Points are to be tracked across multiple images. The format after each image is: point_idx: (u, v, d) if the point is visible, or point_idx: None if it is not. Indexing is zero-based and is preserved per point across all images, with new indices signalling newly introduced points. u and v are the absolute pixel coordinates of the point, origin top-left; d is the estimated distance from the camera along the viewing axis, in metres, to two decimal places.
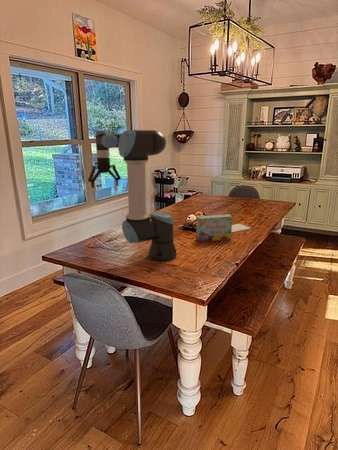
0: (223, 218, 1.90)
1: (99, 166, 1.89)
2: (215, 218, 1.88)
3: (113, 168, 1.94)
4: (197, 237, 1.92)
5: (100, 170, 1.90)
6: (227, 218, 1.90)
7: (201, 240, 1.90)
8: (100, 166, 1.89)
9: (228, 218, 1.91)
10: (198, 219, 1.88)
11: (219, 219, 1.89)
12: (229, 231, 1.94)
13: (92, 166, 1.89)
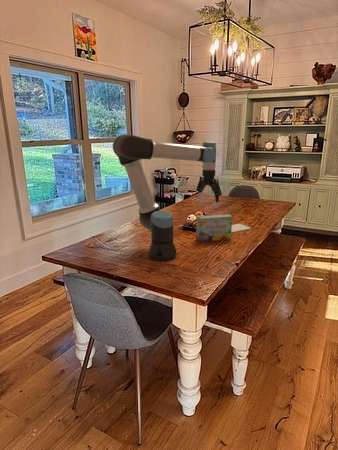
0: (223, 218, 1.90)
1: (203, 177, 1.87)
2: (215, 218, 1.88)
3: None
4: (197, 237, 1.92)
5: (203, 182, 1.87)
6: (227, 218, 1.90)
7: (201, 240, 1.90)
8: (204, 178, 1.86)
9: (228, 218, 1.91)
10: (198, 219, 1.88)
11: (219, 219, 1.89)
12: (229, 231, 1.94)
13: None
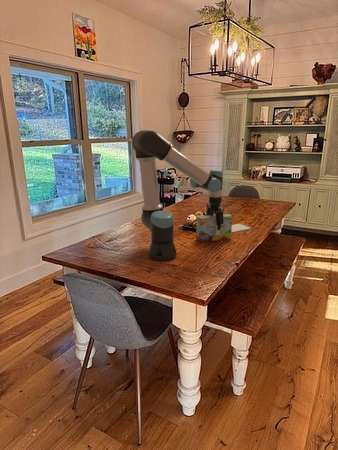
0: (223, 218, 1.90)
1: (210, 204, 1.91)
2: (215, 218, 1.88)
3: None
4: (197, 237, 1.92)
5: (210, 209, 1.91)
6: (227, 218, 1.90)
7: (201, 240, 1.90)
8: (210, 203, 1.90)
9: (228, 218, 1.91)
10: (198, 219, 1.88)
11: None
12: (229, 231, 1.94)
13: None
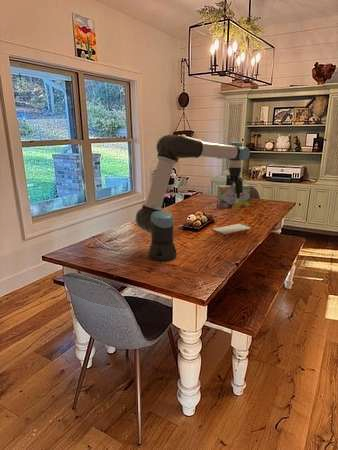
0: None
1: (230, 174, 2.06)
2: (235, 187, 2.03)
3: (239, 180, 2.00)
4: (218, 205, 2.07)
5: (230, 179, 2.05)
6: (245, 187, 2.05)
7: (222, 208, 2.05)
8: (230, 174, 2.05)
9: (246, 187, 2.06)
10: (219, 188, 2.03)
11: None
12: (247, 200, 2.09)
13: None
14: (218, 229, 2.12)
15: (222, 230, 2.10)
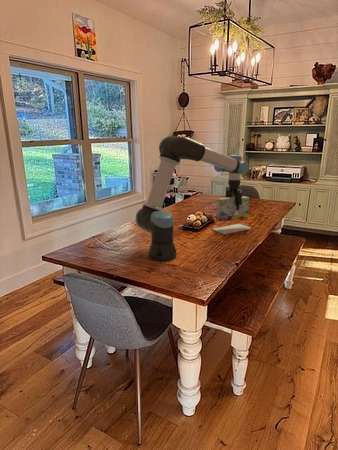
0: None
1: (229, 186, 2.08)
2: (234, 199, 2.06)
3: (238, 192, 2.02)
4: (217, 217, 2.09)
5: (229, 191, 2.08)
6: (245, 199, 2.08)
7: (221, 220, 2.07)
8: (230, 186, 2.08)
9: (246, 199, 2.08)
10: (219, 200, 2.05)
11: None
12: (246, 211, 2.11)
13: None
14: (218, 229, 2.12)
15: (222, 230, 2.10)
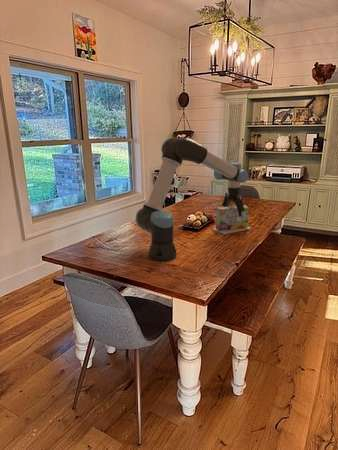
0: None
1: (229, 194, 2.09)
2: (234, 209, 2.07)
3: None
4: (217, 226, 2.10)
5: (228, 198, 2.10)
6: (244, 209, 2.10)
7: (221, 229, 2.09)
8: (229, 194, 2.09)
9: (245, 209, 2.10)
10: (218, 210, 2.06)
11: (237, 210, 2.08)
12: (246, 221, 2.13)
13: (227, 193, 2.13)
14: None
15: (222, 230, 2.10)
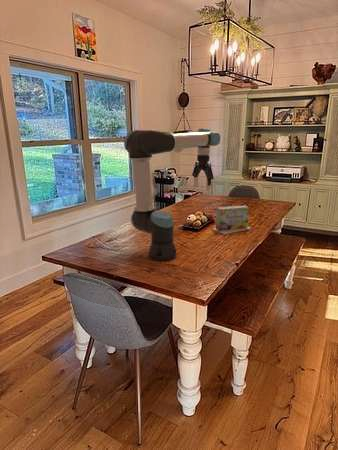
0: (241, 209, 2.09)
1: (198, 162, 1.98)
2: (234, 209, 2.07)
3: None
4: (217, 226, 2.10)
5: (198, 166, 1.99)
6: (244, 209, 2.10)
7: (221, 229, 2.09)
8: (199, 163, 1.98)
9: (245, 209, 2.10)
10: (218, 210, 2.06)
11: (237, 210, 2.08)
12: (246, 221, 2.13)
13: (198, 162, 2.02)
14: None
15: (222, 230, 2.10)
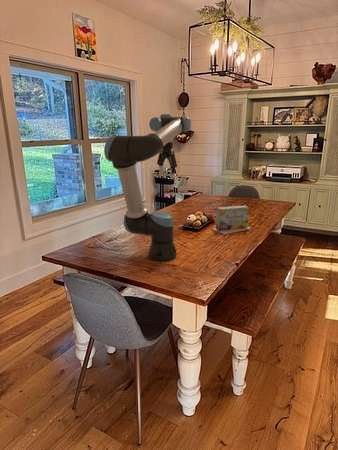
0: (241, 209, 2.09)
1: (162, 150, 1.91)
2: (234, 209, 2.07)
3: None
4: (217, 226, 2.10)
5: (161, 154, 1.91)
6: (244, 209, 2.10)
7: (221, 229, 2.09)
8: (163, 150, 1.91)
9: (245, 209, 2.10)
10: (218, 210, 2.06)
11: (237, 210, 2.08)
12: (246, 221, 2.13)
13: (162, 150, 1.95)
14: None
15: (222, 230, 2.10)
